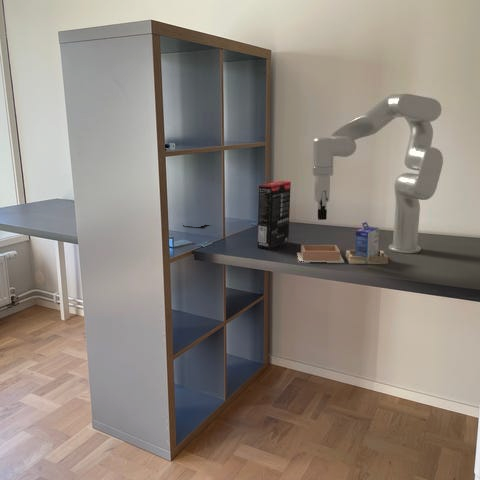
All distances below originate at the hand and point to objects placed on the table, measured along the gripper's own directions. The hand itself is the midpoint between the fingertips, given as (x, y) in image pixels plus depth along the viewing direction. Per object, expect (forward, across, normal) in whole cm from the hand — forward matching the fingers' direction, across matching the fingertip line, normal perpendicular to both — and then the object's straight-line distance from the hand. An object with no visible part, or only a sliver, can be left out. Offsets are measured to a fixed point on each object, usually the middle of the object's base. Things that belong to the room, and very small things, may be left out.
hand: (322, 219), depth 189 cm
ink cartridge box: (+16, +2, +17) cm, 23 cm away
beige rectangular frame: (+16, +2, +17) cm, 23 cm away
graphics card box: (+16, -21, -18) cm, 32 cm away
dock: (+16, 0, -1) cm, 16 cm away
